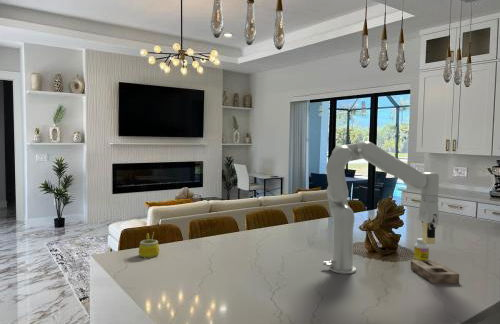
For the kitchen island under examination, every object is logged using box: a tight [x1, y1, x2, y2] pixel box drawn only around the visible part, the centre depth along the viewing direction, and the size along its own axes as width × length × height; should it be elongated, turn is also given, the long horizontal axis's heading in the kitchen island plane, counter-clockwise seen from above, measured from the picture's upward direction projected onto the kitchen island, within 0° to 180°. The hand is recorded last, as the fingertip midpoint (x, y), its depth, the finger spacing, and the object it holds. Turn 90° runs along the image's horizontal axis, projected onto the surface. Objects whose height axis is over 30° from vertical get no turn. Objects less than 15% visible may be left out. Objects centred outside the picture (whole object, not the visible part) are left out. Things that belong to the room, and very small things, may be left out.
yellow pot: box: [138, 231, 160, 259], centre depth 207 cm, size 13×11×12 cm
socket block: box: [410, 259, 460, 285], centre depth 177 cm, size 12×20×4 cm, turn 3°
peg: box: [421, 222, 436, 245], centre depth 181 cm, size 4×4×10 cm
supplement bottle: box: [413, 237, 430, 261], centre depth 194 cm, size 7×7×13 cm
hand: (428, 236), depth 181 cm, fingers closed on peg, 4 cm apart
